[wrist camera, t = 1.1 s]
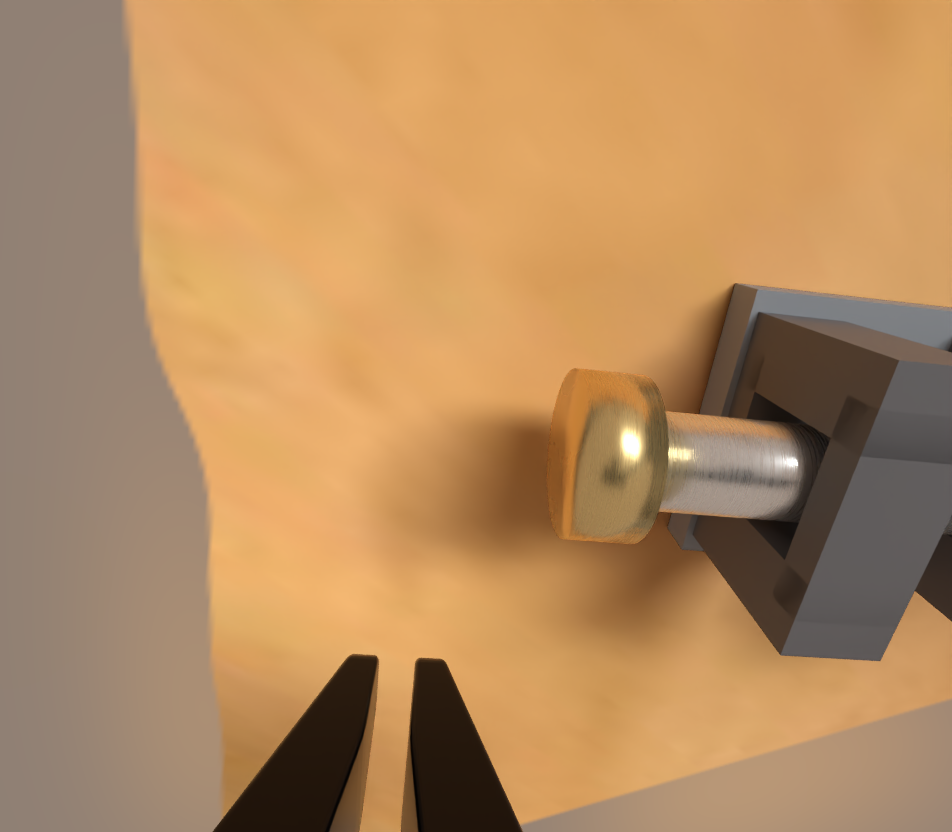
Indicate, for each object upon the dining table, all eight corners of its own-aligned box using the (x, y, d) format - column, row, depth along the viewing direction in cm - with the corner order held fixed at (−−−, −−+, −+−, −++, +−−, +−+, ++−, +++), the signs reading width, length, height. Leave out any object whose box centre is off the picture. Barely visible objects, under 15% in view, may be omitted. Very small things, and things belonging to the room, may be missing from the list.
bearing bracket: (1048, 319, 20) (1372, 380, 13) (935, 548, 23) (1141, 694, 16) (735, 283, 19) (901, 328, 12) (667, 528, 22) (764, 673, 15)
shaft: (986, 392, 19) (1164, 454, 14) (927, 518, 20) (1068, 610, 16) (564, 349, 17) (605, 402, 13) (540, 486, 19) (568, 576, 15)
